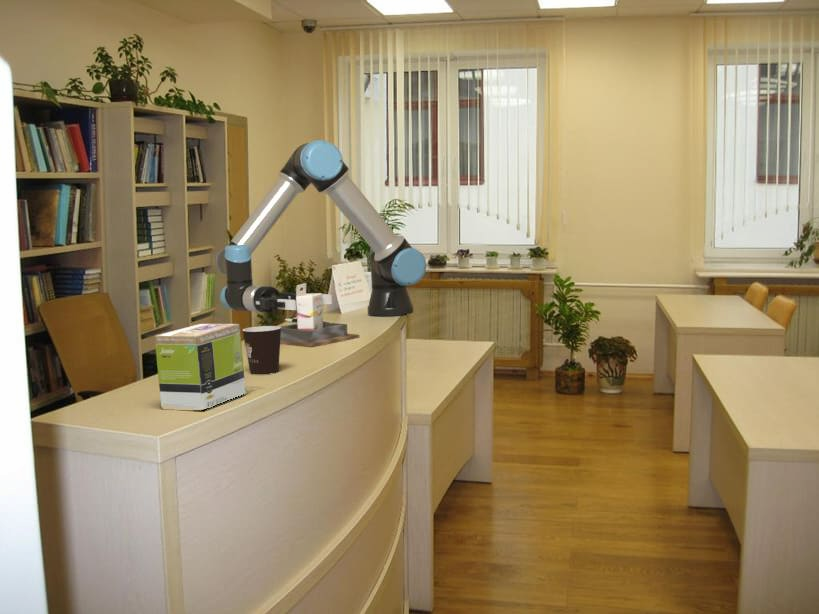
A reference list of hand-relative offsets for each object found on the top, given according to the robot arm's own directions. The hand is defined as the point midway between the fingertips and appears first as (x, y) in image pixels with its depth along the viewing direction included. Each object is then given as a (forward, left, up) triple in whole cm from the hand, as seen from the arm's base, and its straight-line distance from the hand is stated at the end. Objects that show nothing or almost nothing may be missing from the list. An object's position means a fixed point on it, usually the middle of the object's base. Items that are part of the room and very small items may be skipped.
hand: (313, 302), depth 255 cm
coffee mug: (+38, +23, -11) cm, 46 cm away
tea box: (+66, +38, -11) cm, 77 cm away
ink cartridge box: (0, -2, -10) cm, 10 cm away
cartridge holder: (0, -2, -10) cm, 11 cm away
